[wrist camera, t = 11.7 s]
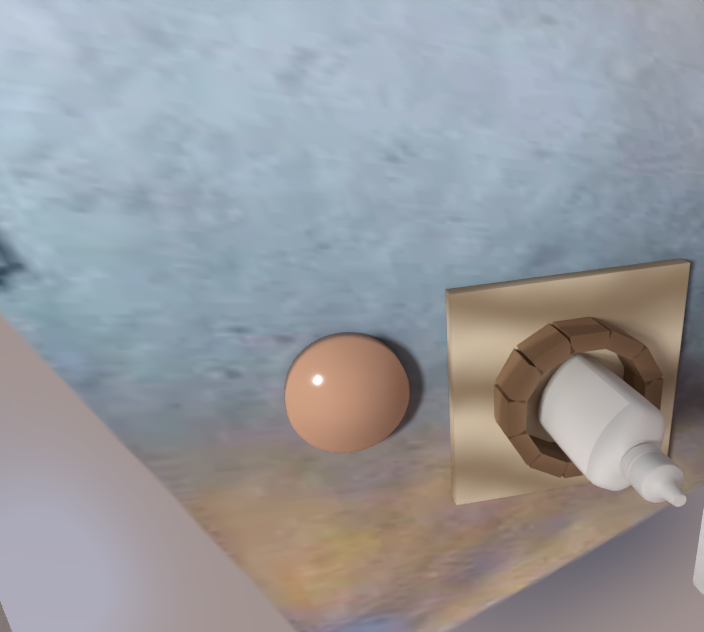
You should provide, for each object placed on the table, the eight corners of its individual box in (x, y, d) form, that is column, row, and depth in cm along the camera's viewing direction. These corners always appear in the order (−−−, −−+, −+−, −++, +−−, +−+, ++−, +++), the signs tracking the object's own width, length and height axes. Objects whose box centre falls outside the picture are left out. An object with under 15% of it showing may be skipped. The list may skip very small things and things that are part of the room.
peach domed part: (258, 386, 39) (259, 397, 38) (353, 306, 38) (357, 315, 37) (337, 461, 42) (340, 474, 40) (426, 388, 41) (433, 399, 40)
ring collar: (445, 289, 38) (462, 307, 35) (680, 258, 40) (717, 273, 37) (452, 496, 44) (467, 528, 41) (657, 462, 46) (688, 490, 43)
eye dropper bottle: (516, 393, 41) (613, 507, 30) (585, 342, 40) (710, 439, 29) (548, 434, 42) (651, 558, 31) (615, 386, 42) (744, 494, 30)
